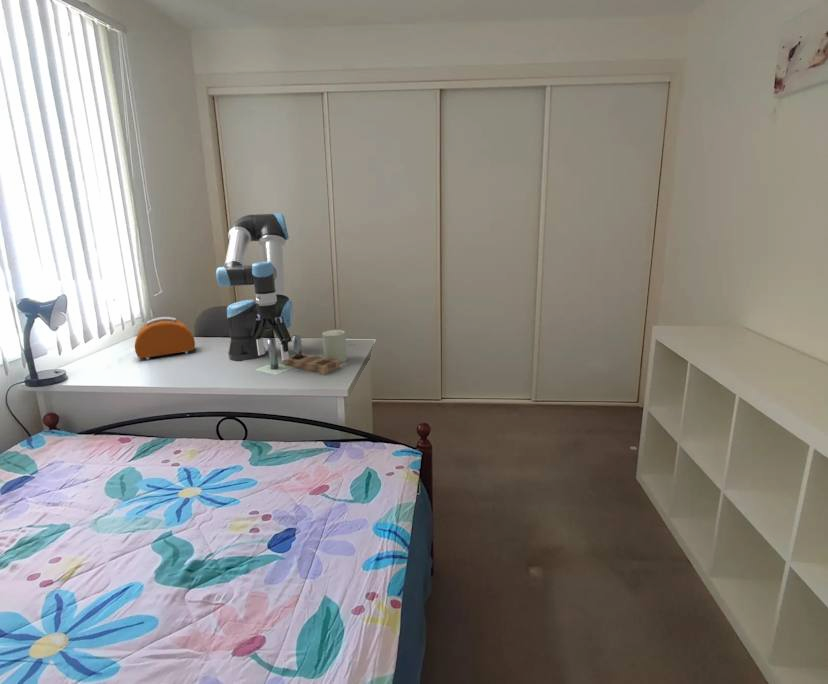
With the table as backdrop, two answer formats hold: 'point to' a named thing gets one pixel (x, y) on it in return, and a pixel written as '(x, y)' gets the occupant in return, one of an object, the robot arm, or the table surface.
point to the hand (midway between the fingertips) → (273, 357)
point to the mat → (268, 370)
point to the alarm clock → (163, 338)
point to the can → (334, 345)
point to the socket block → (313, 363)
